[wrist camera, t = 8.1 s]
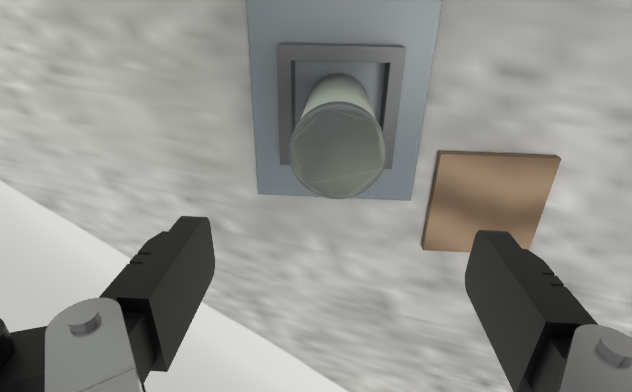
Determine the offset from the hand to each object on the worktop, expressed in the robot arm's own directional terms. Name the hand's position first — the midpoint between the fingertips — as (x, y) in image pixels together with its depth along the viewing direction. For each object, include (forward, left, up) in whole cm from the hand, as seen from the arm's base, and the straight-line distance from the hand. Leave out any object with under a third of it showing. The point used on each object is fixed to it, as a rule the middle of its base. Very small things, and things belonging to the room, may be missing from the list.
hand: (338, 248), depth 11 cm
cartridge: (0, 0, -20) cm, 20 cm away
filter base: (-4, 0, -21) cm, 21 cm away
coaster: (+9, +14, -21) cm, 27 cm away
